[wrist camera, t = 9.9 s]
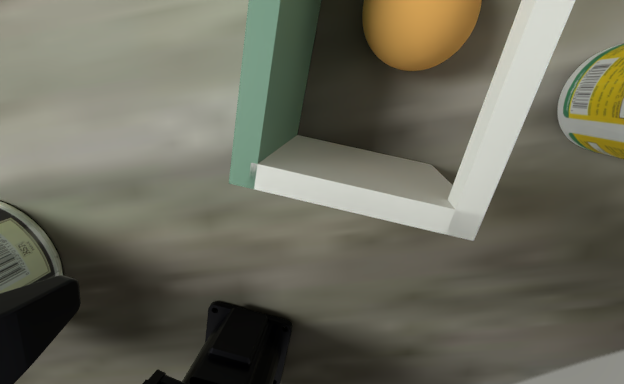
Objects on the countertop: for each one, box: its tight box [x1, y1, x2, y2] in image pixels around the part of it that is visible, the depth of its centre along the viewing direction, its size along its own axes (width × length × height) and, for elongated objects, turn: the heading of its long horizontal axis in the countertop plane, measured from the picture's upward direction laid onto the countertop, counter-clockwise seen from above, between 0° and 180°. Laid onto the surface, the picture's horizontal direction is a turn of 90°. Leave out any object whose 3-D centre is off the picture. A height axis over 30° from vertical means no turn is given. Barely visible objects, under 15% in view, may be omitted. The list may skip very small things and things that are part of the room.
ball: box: [362, 0, 482, 71], centre depth 14 cm, size 5×5×5 cm
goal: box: [229, 0, 575, 241], centre depth 13 cm, size 14×9×8 cm, turn 169°
